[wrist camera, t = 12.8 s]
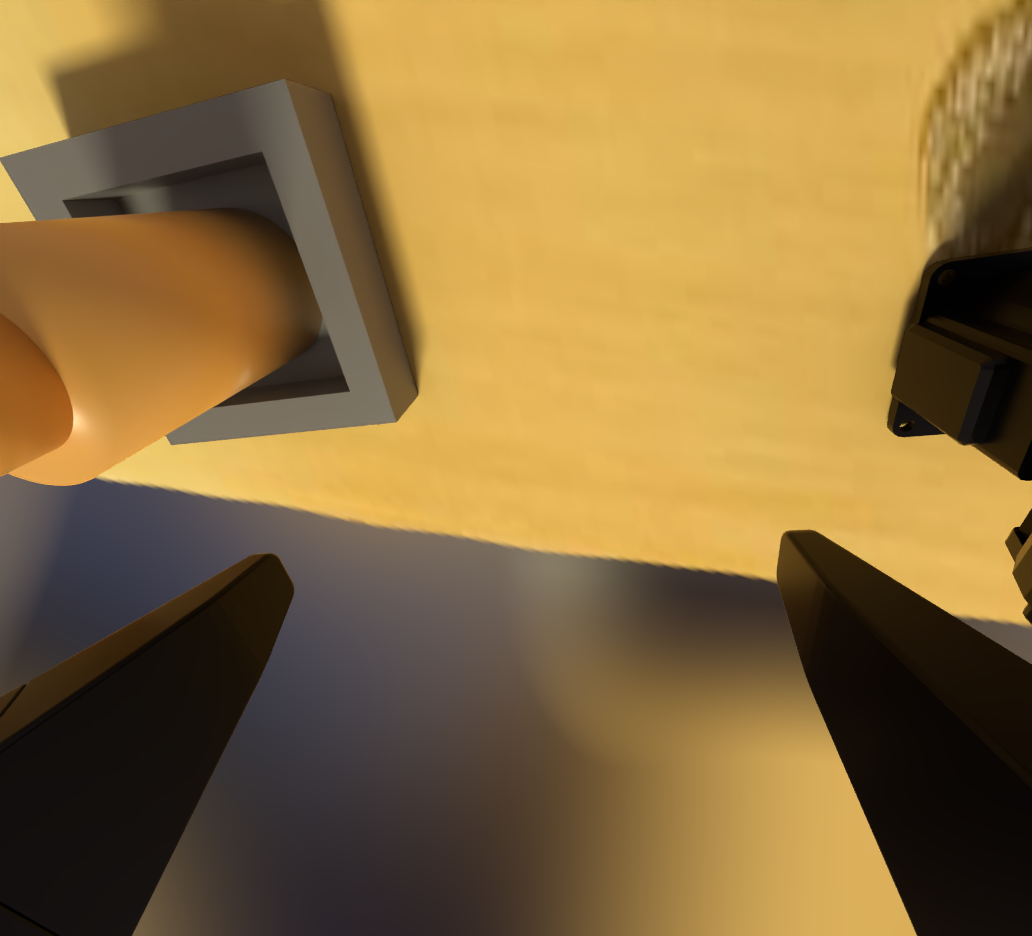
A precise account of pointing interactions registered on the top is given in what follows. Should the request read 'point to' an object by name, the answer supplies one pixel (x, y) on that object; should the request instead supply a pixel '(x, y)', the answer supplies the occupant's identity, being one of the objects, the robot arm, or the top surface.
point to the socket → (276, 196)
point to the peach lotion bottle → (137, 330)
